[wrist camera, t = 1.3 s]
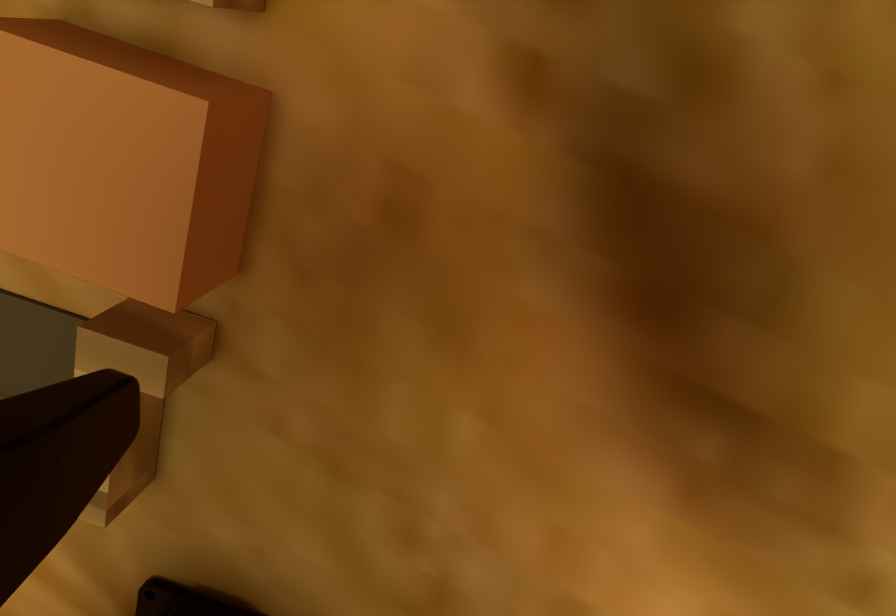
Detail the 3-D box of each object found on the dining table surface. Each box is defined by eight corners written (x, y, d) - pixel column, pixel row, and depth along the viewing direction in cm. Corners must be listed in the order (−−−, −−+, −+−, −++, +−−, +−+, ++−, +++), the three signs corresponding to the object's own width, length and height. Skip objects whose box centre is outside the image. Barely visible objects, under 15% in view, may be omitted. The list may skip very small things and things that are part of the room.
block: (239, 271, 24) (174, 313, 20) (48, 203, 24) (-49, 231, 21) (274, 91, 22) (208, 101, 18) (63, 19, 22) (-43, 15, 19)
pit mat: (121, 432, 27) (117, 435, 27) (-48, 373, 27) (-53, 376, 27) (131, 333, 25) (128, 335, 25) (-49, 272, 26) (-54, 274, 26)
